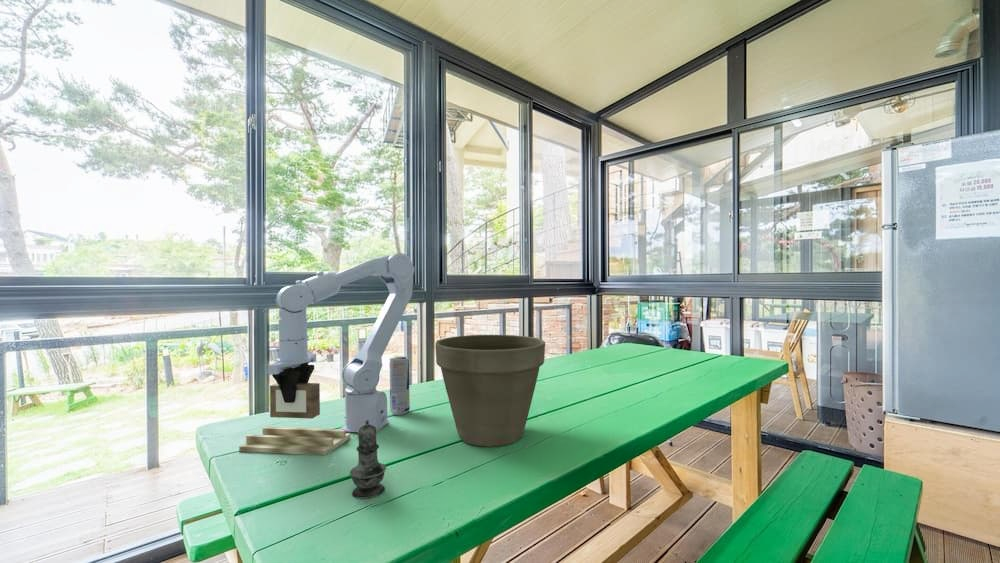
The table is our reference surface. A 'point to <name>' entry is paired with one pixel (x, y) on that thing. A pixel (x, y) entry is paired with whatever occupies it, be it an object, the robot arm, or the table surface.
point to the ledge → (295, 441)
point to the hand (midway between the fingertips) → (294, 400)
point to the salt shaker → (367, 465)
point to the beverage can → (399, 385)
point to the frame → (296, 402)
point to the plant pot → (490, 384)
